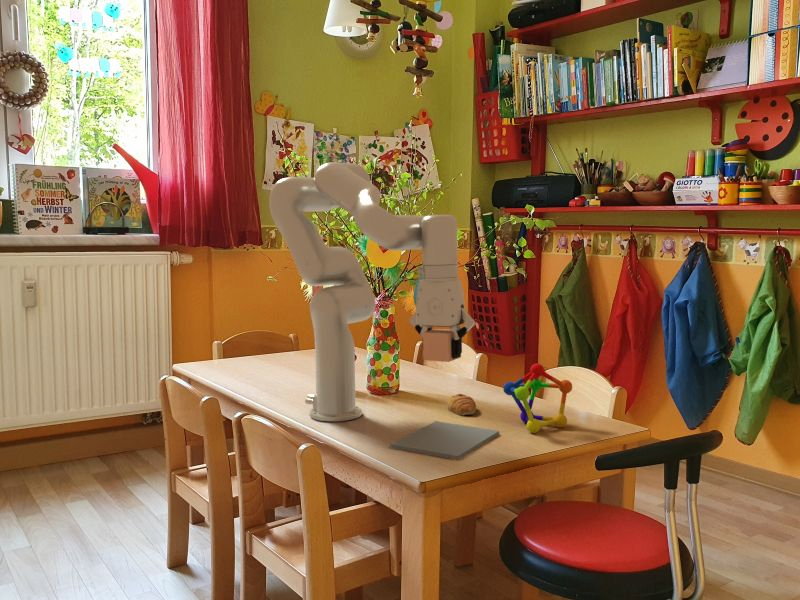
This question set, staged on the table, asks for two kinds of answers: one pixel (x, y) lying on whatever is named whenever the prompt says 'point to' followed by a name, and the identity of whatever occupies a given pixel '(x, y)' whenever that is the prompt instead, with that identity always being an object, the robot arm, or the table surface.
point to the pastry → (461, 404)
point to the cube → (437, 345)
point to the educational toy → (522, 394)
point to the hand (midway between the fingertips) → (442, 355)
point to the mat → (445, 440)
